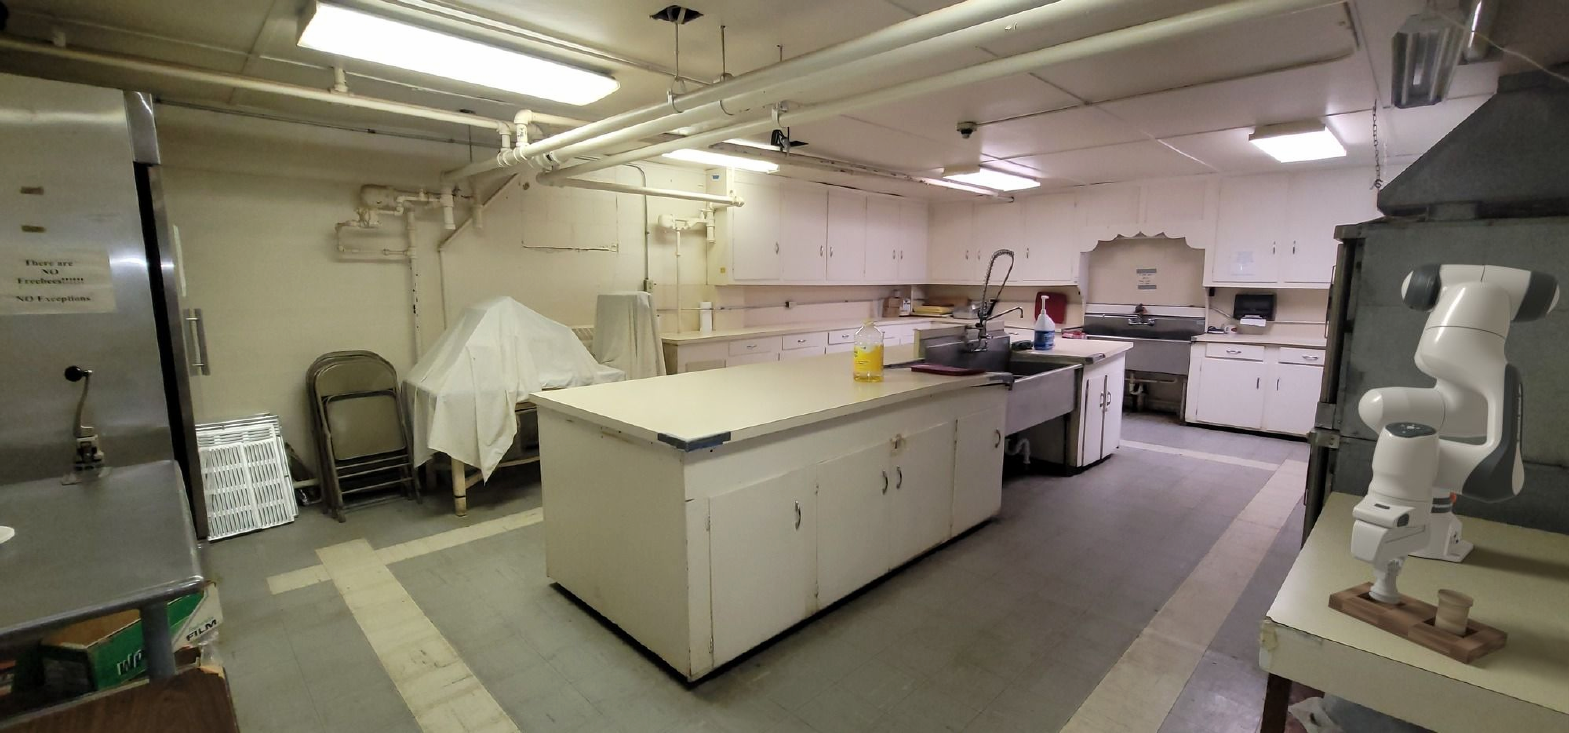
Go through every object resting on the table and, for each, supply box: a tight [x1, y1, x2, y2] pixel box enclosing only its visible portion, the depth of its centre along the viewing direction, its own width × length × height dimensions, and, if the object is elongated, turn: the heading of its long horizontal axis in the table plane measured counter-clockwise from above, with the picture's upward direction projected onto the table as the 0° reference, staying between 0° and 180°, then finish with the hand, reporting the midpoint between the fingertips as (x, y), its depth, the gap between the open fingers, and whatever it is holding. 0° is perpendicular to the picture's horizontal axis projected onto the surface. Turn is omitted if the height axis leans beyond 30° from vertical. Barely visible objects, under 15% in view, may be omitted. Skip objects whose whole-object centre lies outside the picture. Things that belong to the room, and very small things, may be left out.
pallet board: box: [1327, 581, 1509, 665], centre depth 118 cm, size 14×20×9 cm
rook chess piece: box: [1369, 559, 1401, 604], centre depth 122 cm, size 4×4×8 cm
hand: (1386, 575), depth 122 cm, fingers closed on rook chess piece, 3 cm apart
